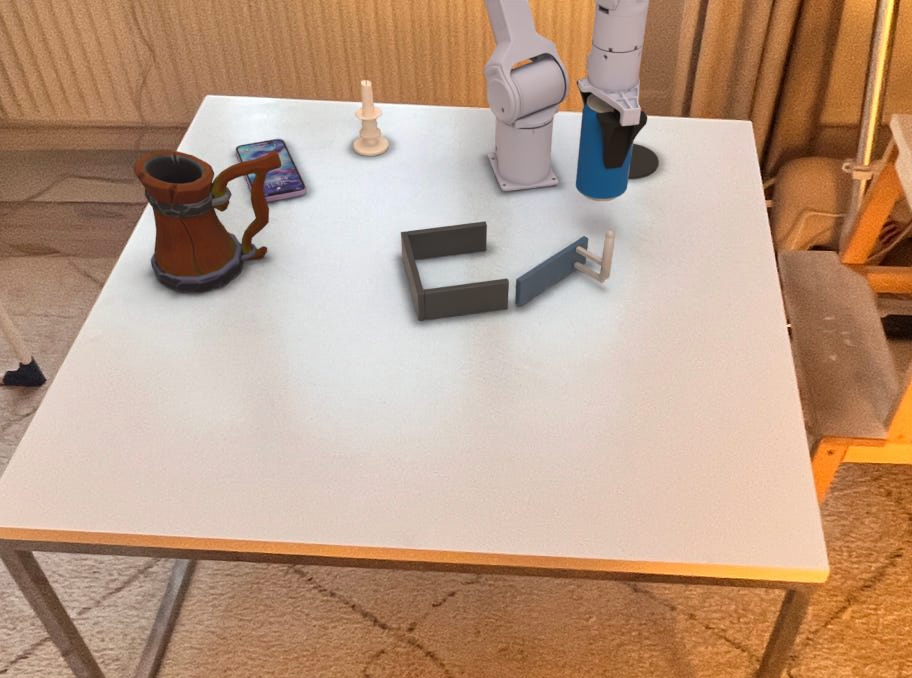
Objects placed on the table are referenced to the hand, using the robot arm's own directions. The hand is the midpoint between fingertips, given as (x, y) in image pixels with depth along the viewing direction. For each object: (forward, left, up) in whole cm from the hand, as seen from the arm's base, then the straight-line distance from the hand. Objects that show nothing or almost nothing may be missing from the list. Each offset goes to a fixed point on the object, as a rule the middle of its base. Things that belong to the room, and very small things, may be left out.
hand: (604, 152), depth 114 cm
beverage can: (0, 0, -6) cm, 6 cm away
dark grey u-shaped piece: (+8, -20, -10) cm, 24 cm away
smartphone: (-22, -41, -10) cm, 48 cm away
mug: (-2, -48, -11) cm, 49 cm away
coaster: (-14, +9, -10) cm, 19 cm away
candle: (-26, -26, -11) cm, 38 cm away
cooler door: (+13, -8, -10) cm, 18 cm away
